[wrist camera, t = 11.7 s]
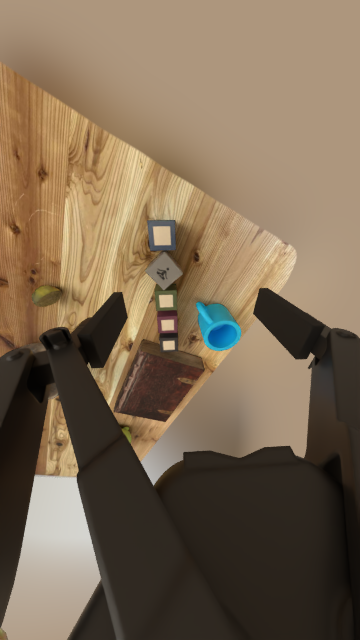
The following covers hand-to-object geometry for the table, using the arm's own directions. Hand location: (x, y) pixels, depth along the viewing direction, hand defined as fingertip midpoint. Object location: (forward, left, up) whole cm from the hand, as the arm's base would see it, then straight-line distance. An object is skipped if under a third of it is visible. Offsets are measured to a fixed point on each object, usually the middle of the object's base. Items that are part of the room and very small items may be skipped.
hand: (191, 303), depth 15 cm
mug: (-7, +13, -21) cm, 26 cm away
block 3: (+3, +13, -21) cm, 25 cm away
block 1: (+3, -5, -21) cm, 22 cm away
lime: (+28, +6, -21) cm, 36 cm away
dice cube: (+3, +1, -21) cm, 21 cm away
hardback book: (+8, +37, -21) cm, 43 cm away
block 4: (+3, +19, -21) cm, 28 cm away
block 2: (+3, +7, -21) cm, 22 cm away
